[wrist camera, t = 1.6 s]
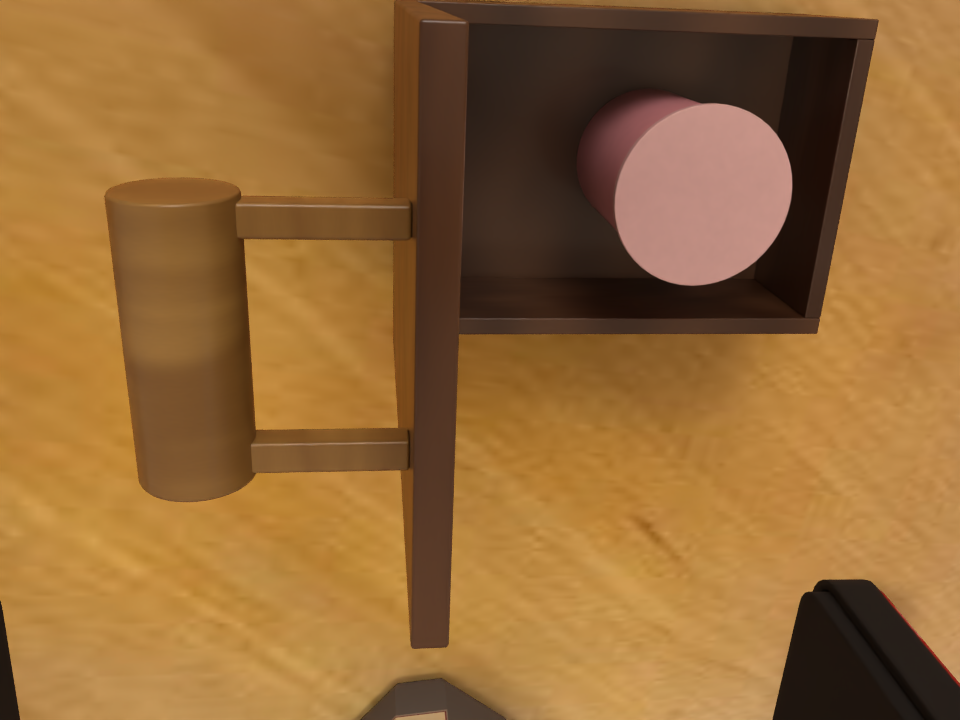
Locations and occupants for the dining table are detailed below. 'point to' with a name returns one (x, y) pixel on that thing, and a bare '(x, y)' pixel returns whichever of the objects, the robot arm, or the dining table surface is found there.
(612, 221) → the pink cylinder
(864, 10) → the dining table surface
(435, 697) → the liquor
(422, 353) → the lid
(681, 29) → the chest
